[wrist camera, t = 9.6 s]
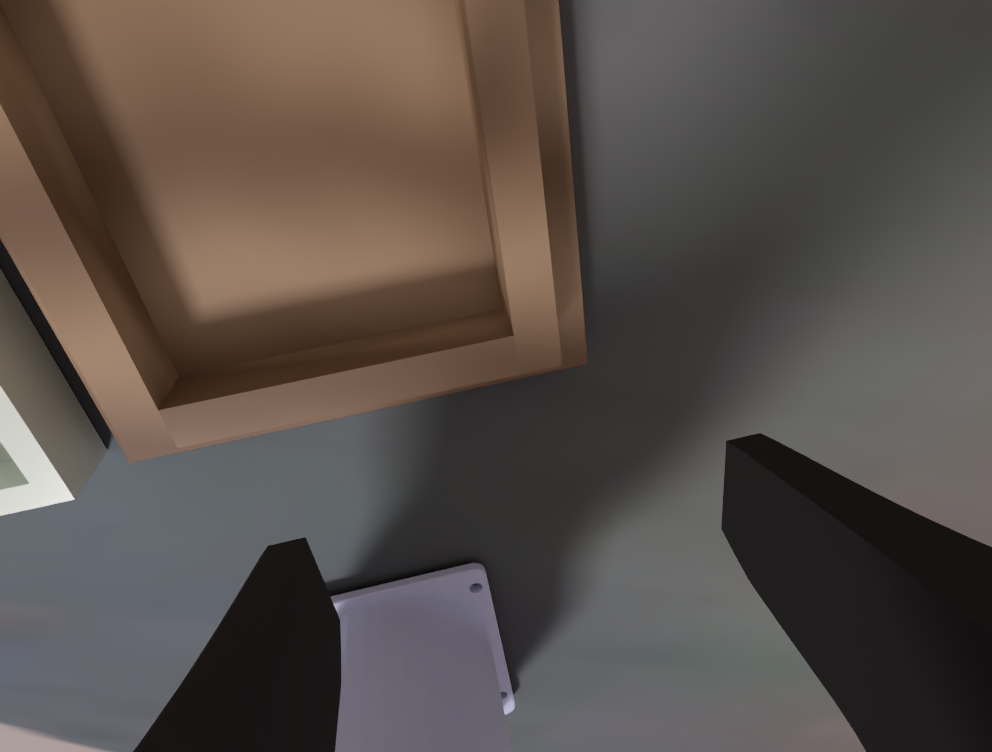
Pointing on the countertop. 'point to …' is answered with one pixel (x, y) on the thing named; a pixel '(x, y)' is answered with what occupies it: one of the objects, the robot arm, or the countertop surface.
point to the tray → (38, 419)
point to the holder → (289, 204)
